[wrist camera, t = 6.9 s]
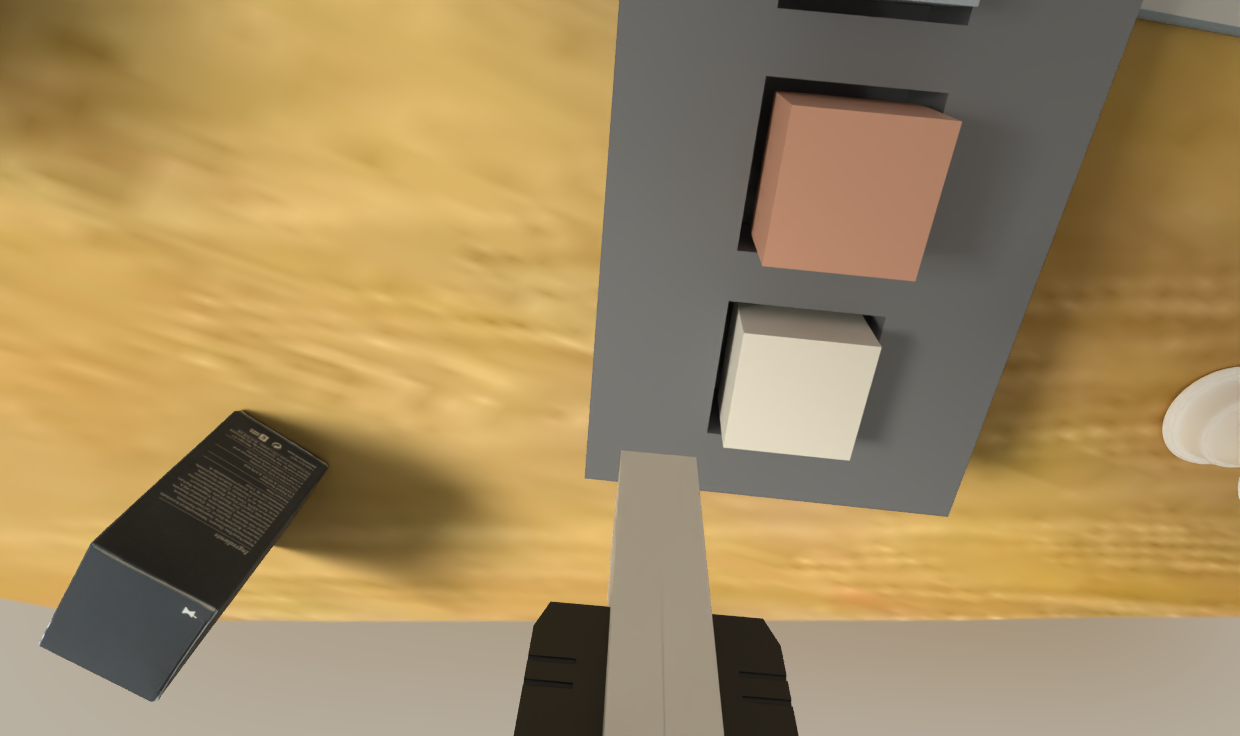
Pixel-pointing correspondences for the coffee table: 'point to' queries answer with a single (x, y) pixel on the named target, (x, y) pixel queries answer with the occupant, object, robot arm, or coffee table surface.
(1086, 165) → the coffee table surface
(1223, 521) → the coffee table surface
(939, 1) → the slate key
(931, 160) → the terracotta key
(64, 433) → the coffee table surface
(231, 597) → the box
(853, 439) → the ivory key
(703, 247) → the key panel
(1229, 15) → the smartphone
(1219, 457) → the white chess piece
